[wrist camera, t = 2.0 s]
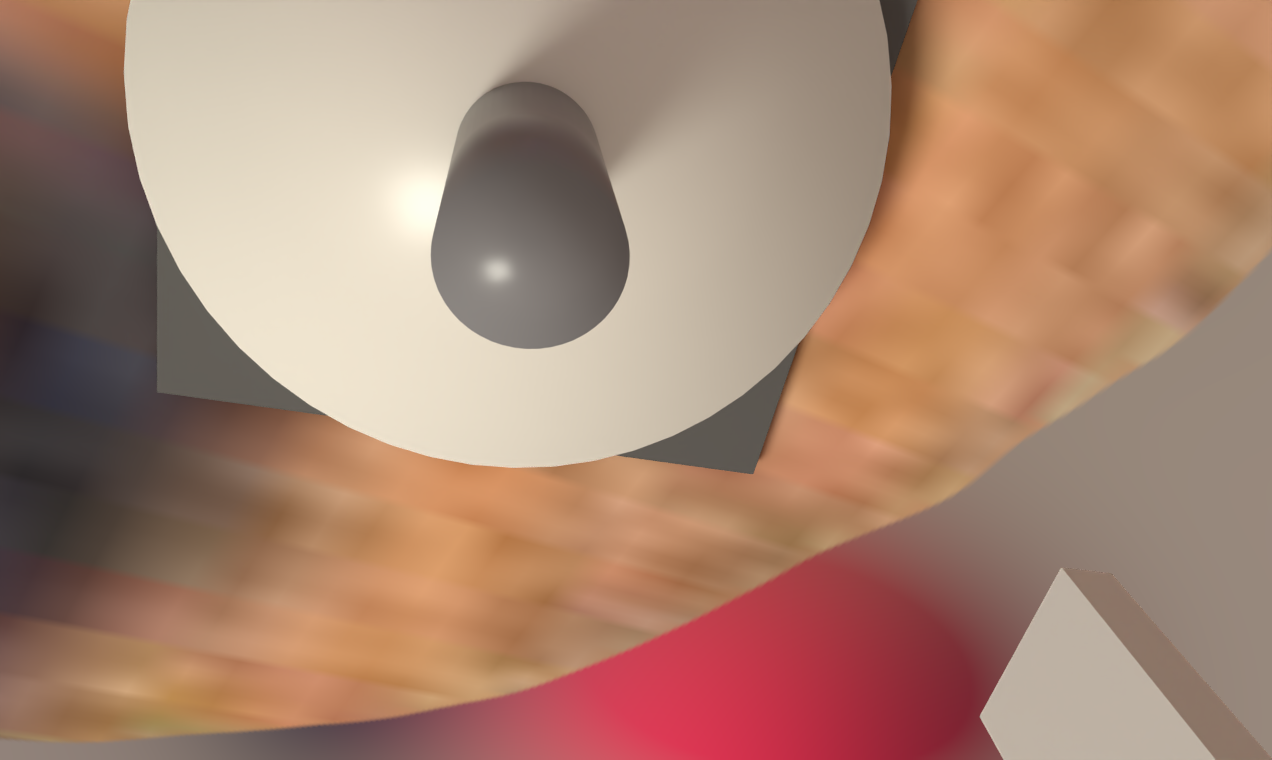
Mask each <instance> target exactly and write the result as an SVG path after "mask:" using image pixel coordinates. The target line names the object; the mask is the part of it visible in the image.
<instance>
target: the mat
mask: <svg viewBox="0 0 1272 760" xmlns="http://www.w3.org/2000/svg"><path fill="white" fill-rule="evenodd" d="M879 1H880V5H881V10H882V14H883V19H884V23H885V28H886V33H887V38H888V50H889V61H890V73H891V75H892V72H893V69H894V66H895V64H896V61H897V58H898V55H899V52H900V49H901V46H902V43H903V40H904V38H905V35H906V32H907V29H908V26H909V23H910V20H911V17H912V15H913V12H914V9H915V6H916V3H917V0H879ZM797 346H798V345H797ZM797 346H796V347H795V348H794V349H793V350H792V351H791V352H790V353H789V354H788V355H787V356H786V357H785V358H784V359H783V360H782V361H781V362H780V363H779V365H778V366H777V367H776V368H775V369H773V370H772V371H771V372H770V373H769V374H768V375H766V376H765V377H764V378H763V379H762V380H760V381H759V382H758V383H757V384H756V385H754V386H753V387H752V388H751V389H750V390H748V391H747V392H746V393H745V394H744V395H742V396H741V397H739V398H738V399H736V400H735V401H733V402H732V403H730V404H729V405H727V406H726V407H724V408H723V409H721V410H720V411H718V412H716V413H715V414H713V415H712V416H710V417H709V418H707V419H705V420H703V421H701V422H699V423H697V424H695V425H693V426H691V427H689V428H687V429H685V430H683V431H682V432H680V433H678V434H676V435H674V436H671V437H669V438H666V439H663V440H661V441H658V442H656V443H653V444H650V445H648V446H645V447H642V448H640V449H637V450H634V451H630V452H627V453H623V454H619V455H617V456H624V457H631V458H639V459H646V460H653V461H660V462H668V463H675V464H682V465H689V466H697V467H704V468H711V469H718V470H726V471H733V472H740V473H747V474H753V473H754V470H755V467H756V464H757V462H758V459H759V456H760V453H761V450H762V447H763V444H764V441H765V438H766V436H767V433H768V430H769V427H770V424H771V421H772V418H773V415H774V413H775V410H776V407H777V404H778V401H779V398H780V395H781V392H782V389H783V387H784V384H785V381H786V378H787V375H788V372H789V369H790V366H791V363H792V361H793V358H794V355H795V352H796V349H797ZM157 392H160V393H167V394H174V395H182V396H189V397H196V398H203V399H211V400H218V401H225V402H232V403H240V404H247V405H254V406H262V407H269V408H276V409H283V410H291V411H298V412H305V413H312V414H320V415H326V414H325V413H323V412H321V411H319V410H318V409H316V408H314V407H312V406H310V405H309V404H308V403H306V402H305V401H303V400H302V399H301V398H299V397H298V396H297V395H295V394H294V393H292V392H291V391H290V390H288V389H287V388H285V387H284V386H283V385H281V384H280V383H279V382H277V381H276V380H274V379H273V378H272V377H271V376H270V375H269V374H268V373H266V372H265V371H264V370H263V369H262V368H261V367H260V366H259V365H258V364H257V363H256V362H254V361H253V360H252V359H251V358H250V357H249V356H248V355H247V354H246V353H245V352H243V351H242V350H241V349H240V348H239V347H238V346H237V345H236V343H235V342H234V341H233V340H232V339H231V338H230V337H229V335H228V334H227V333H226V332H225V331H224V330H223V328H222V327H221V326H220V325H219V324H218V323H217V322H216V320H215V319H214V318H213V317H212V316H211V315H210V313H209V312H208V311H207V310H206V308H205V307H204V305H203V304H202V302H201V301H200V299H199V298H198V296H197V295H196V294H195V292H194V291H193V289H192V288H191V286H190V285H189V283H188V282H187V280H186V279H185V277H184V276H183V274H182V273H181V271H180V270H179V268H178V266H177V264H176V262H175V260H174V258H173V256H172V254H171V252H170V250H169V248H168V246H167V244H166V242H165V240H164V238H163V237H162V235H161V233H160V231H159V229H158V227H157ZM327 416H328V415H327Z"/></svg>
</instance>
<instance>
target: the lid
mask: <svg viewBox="0 0 1272 760" xmlns="http://www.w3.org/2000/svg"><path fill="white" fill-rule="evenodd" d="M124 81H125V93H126V105H127V117H128V127H129V132H130V136H131V141H132V146H133V150H134V155H135V159H136V164H137V168H138V173H139V177H140V180H141V183H142V186H143V188H144V191H145V194H146V197H147V199H148V202H149V205H150V208H151V210H152V213H153V216H154V219H155V222H156V224H157V227H158V229H159V231H160V233H161V235H162V237H163V238H164V240H165V242H166V244H167V246H168V248H169V250H170V252H171V254H172V256H173V258H174V260H175V262H176V264H177V266H178V268H179V270H180V271H181V273H182V274H183V276H184V277H185V279H186V280H187V282H188V283H189V285H190V286H191V288H192V289H193V291H194V292H195V294H196V295H197V296H198V298H199V299H200V301H201V302H202V304H203V305H204V307H205V308H206V310H207V311H208V312H209V313H210V315H211V316H212V317H213V318H214V319H215V320H216V322H217V323H218V324H219V325H220V326H221V327H222V328H223V330H224V331H225V332H226V333H227V334H228V335H229V337H230V338H231V339H232V340H233V341H234V342H235V343H236V345H237V346H238V347H239V348H240V349H241V350H242V351H243V352H245V353H246V354H247V355H248V356H249V357H250V358H251V359H252V360H253V361H254V362H256V363H257V364H258V365H259V366H260V367H261V368H262V369H263V370H264V371H265V372H266V373H268V374H269V375H270V376H271V377H272V378H273V379H274V380H276V381H277V382H279V383H280V384H281V385H283V386H284V387H285V388H287V389H288V390H290V391H291V392H292V393H294V394H295V395H297V396H298V397H299V398H301V399H302V400H303V401H305V402H306V403H308V404H309V405H310V406H312V407H314V408H316V409H318V410H319V411H321V412H323V413H325V414H326V415H328V416H330V417H332V418H333V419H335V420H337V421H339V422H341V423H342V424H344V425H346V426H348V427H350V428H352V429H354V430H357V431H359V432H361V433H364V434H366V435H368V436H371V437H373V438H375V439H378V440H380V441H382V442H385V443H387V444H390V445H393V446H396V447H400V448H403V449H406V450H409V451H413V452H416V453H419V454H423V455H426V456H429V457H434V458H439V459H445V460H450V461H455V462H461V463H466V464H471V465H484V466H497V467H510V468H519V467H550V466H560V465H567V464H574V463H582V462H589V461H595V460H599V459H603V458H607V457H611V456H615V455H619V454H623V453H627V452H630V451H634V450H637V449H640V448H642V447H645V446H648V445H650V444H653V443H656V442H658V441H661V440H663V439H666V438H669V437H671V436H674V435H676V434H678V433H680V432H682V431H683V430H685V429H687V428H689V427H691V426H693V425H695V424H697V423H699V422H701V421H703V420H705V419H707V418H709V417H710V416H712V415H713V414H715V413H716V412H718V411H720V410H721V409H723V408H724V407H726V406H727V405H729V404H730V403H732V402H733V401H735V400H736V399H738V398H739V397H741V396H742V395H744V394H745V393H746V392H747V391H748V390H750V389H751V388H752V387H753V386H754V385H756V384H757V383H758V382H759V381H760V380H762V379H763V378H764V377H765V376H766V375H768V374H769V373H770V372H771V371H772V370H773V369H775V368H776V367H777V366H778V365H779V363H780V362H781V361H782V360H783V359H784V358H785V357H786V356H787V355H788V354H789V353H790V352H791V351H792V350H793V349H794V348H795V347H796V346H797V345H798V343H799V342H800V341H801V340H802V339H803V338H804V337H805V336H806V334H807V333H808V332H809V330H810V329H811V328H812V326H813V325H814V324H815V322H816V321H817V320H818V318H819V317H820V316H821V314H822V313H823V312H824V310H825V309H826V308H827V306H828V305H829V304H830V302H831V300H832V298H833V297H834V295H835V293H836V292H837V290H838V288H839V286H840V285H841V283H842V281H843V280H844V278H845V276H846V274H847V273H848V271H849V269H850V267H851V266H852V263H853V261H854V259H855V256H856V254H857V252H858V249H859V247H860V245H861V242H862V240H863V238H864V236H865V233H866V231H867V229H868V226H869V224H870V220H871V217H872V213H873V210H874V207H875V203H876V200H877V196H878V193H879V190H880V186H881V183H882V178H883V172H884V166H885V160H886V154H887V148H888V142H889V136H890V115H891V90H892V85H891V73H890V61H889V50H888V38H887V33H886V28H885V23H884V19H883V14H882V10H881V5H880V1H879V0H131V1H130V6H129V11H128V16H127V26H126V44H125V62H124Z"/></svg>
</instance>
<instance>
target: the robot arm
mask: <svg viewBox="0 0 1272 760" xmlns="http://www.w3.org/2000/svg"><path fill="white" fill-rule="evenodd" d="M980 718H981V720H982V722H983V723H984V725H985V727H986V729H987V731H988V732H989V734H990V736H991V738H992V740H993V741H994V743H995V745H996V747H997V749H998V750H999V752H1000V754H1001V756H1002V758H1003V759H1004V760H1272V758H1271V757H1270V756H1269V755H1268V753H1267V752H1266V751H1265V750H1264V749H1263V748H1262V747H1261V745H1260V744H1259V743H1258V742H1257V741H1256V740H1255V738H1254V737H1253V736H1252V735H1251V734H1250V733H1249V732H1248V730H1247V729H1246V728H1245V727H1244V726H1243V725H1242V723H1241V722H1240V721H1239V720H1238V719H1237V718H1236V717H1235V715H1234V714H1233V713H1232V712H1231V711H1230V710H1229V708H1227V706H1226V705H1225V704H1224V703H1223V702H1222V700H1221V699H1220V698H1219V697H1218V696H1217V695H1216V693H1215V692H1214V691H1213V690H1212V689H1211V688H1210V687H1209V685H1208V684H1207V683H1206V682H1205V681H1204V680H1203V678H1202V677H1201V676H1200V675H1199V674H1198V673H1197V672H1196V671H1195V669H1194V668H1193V667H1192V666H1191V665H1190V663H1189V662H1188V661H1187V660H1186V659H1185V658H1184V657H1183V656H1182V654H1181V653H1180V652H1179V651H1178V650H1177V649H1176V647H1175V646H1174V645H1173V644H1172V643H1171V642H1170V641H1169V639H1168V638H1167V637H1166V636H1165V635H1164V634H1163V632H1162V631H1161V630H1160V629H1159V628H1158V627H1157V625H1156V624H1155V623H1154V622H1153V621H1152V620H1151V619H1150V617H1149V616H1148V615H1147V614H1146V613H1145V612H1144V611H1143V609H1142V608H1141V607H1140V606H1139V605H1138V604H1137V602H1136V601H1135V600H1134V599H1133V598H1132V597H1131V595H1130V594H1129V593H1128V592H1127V591H1126V590H1125V589H1124V587H1123V586H1122V585H1121V584H1120V583H1119V582H1118V580H1117V579H1116V578H1115V577H1114V576H1113V575H1112V574H1110V573H1103V572H1095V571H1087V570H1078V569H1071V568H1063V567H1062V568H1061V569H1060V571H1059V573H1058V574H1057V576H1056V578H1055V580H1054V582H1053V584H1052V585H1051V587H1050V589H1049V591H1048V593H1047V594H1046V596H1045V598H1044V600H1043V602H1042V604H1041V605H1040V607H1039V609H1038V611H1037V613H1036V615H1035V616H1034V618H1033V620H1032V622H1031V624H1030V625H1029V627H1028V629H1027V631H1026V633H1025V635H1024V637H1023V638H1022V640H1021V642H1020V644H1019V646H1018V647H1017V649H1016V651H1015V653H1014V655H1013V656H1012V659H1011V660H1010V662H1009V664H1008V666H1007V668H1006V669H1005V671H1004V673H1003V675H1002V677H1001V678H1000V680H999V682H998V684H997V686H996V687H995V689H994V691H993V693H992V695H991V697H990V699H989V700H988V702H987V704H986V706H985V708H984V709H983V711H982V713H981V715H980Z"/></svg>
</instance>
